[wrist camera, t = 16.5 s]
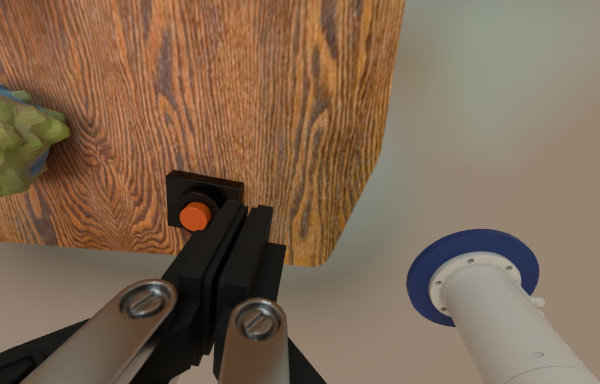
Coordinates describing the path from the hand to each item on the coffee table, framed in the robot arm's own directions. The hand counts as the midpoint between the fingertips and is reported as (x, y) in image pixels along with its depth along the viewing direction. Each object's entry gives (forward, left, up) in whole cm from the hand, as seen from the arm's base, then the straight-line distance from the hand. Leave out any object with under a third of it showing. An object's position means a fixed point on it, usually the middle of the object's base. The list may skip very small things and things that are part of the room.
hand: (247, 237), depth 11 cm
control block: (+11, +15, -27) cm, 33 cm away
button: (+11, +15, -23) cm, 30 cm away
